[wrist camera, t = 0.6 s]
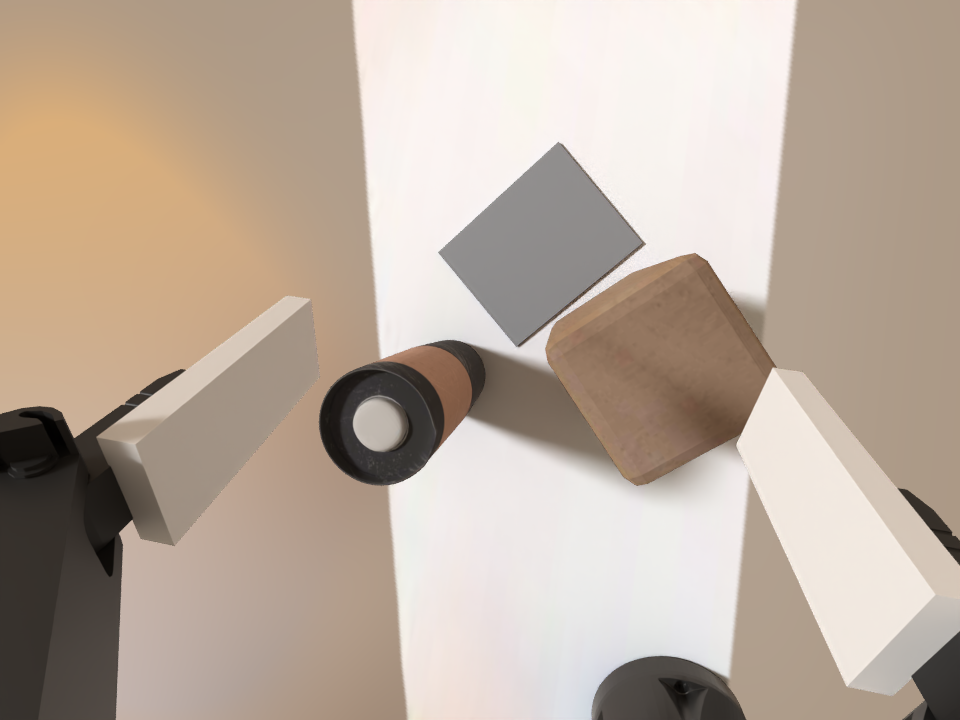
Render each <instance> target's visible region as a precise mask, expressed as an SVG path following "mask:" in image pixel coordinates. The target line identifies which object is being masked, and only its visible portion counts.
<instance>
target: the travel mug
mask: <svg viewBox="0 0 960 720" xmlns="http://www.w3.org/2000/svg"><path fill="white" fill-rule="evenodd" d="M484 382H485V369H484V365H483V362H482V360H481V358H480V357H479V355H478V354H477V352H476V351H475V350H474V349H473V348H471V347H470V346H468V345H467V344H465V343H463V342H460V341H455V340H444V341H439V342H434V343H430V344H426V345H422V346H418V347H414V348H411V349H408V350H405V351H403V352H400V353H397V354H395V355H392V356H389V357H387V358H384V359H381V360H379V361H376V362H373V363H371V364H369V365H365V366H363V367H360V368H357V369H355V370H353V371H351V372H349V373H347V374H345V375H344V376H342V377H341V378H340V379H338V380H337V381H336V382H335V383H334V384H333V385H332V386H331V388H330V389H329V391H328V392H327V394H326V396H325V398H324V400H323V403H322V406H321V410H320V415H319V429H320V435H321V439H322V442H323V445H324V447H325V449H326V452H327V453H328V455H329V457H330V458H331V459H332V461H333V462H334V463H335V464H336V465H337V466H338V468H339V469H341V470H342V471H343V472H344V473H345V474H347V475H349V476H350V477H352V478H353V479H356V480H358V481H360V482H363V483H366V484H371V485H391V484H396V483H399V482H402V481H404V480H406V479H408V478H410V477H411V476H413V475H414V474H416V473H417V472H418V471H420V470H421V469H422V468H423V467H424V466H425V464H426V463H427V462H428V460H429V459H430V458H431V456H432V455H433V454H434V453H435V452H436V451H437V449H438V448H439V447H440V446H441V445H442V444H443V442H444V441H445V440H446V439H447V438H448V437H449V435H450V434H451V433H452V432H453V431H454V430H455V428H456V427H457V426H458V425H459V424H460V423H461V421H462V420H463V419H464V418H465V416H466V415H467V413H468V412H469V410H470V409H471V407H472V406H473V404H474V403H475V401H476V400H477V398H478V396H479V395H480V393H481V391H482V389H483V386H484Z"/></svg>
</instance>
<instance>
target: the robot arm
mask: <svg viewBox="0 0 960 720" xmlns="http://www.w3.org/2000/svg"><path fill="white" fill-rule="evenodd" d="M319 377H320V374H319V365H318V356H317V348H316V339H315V330H314V321H313V312H312V304H311V299H307V298H299V297H293V296H286V297H284V298H283V299H281V300H280V301H279V302H277V303H276V304H275V305H273V306H272V307H271V308H269V309H268V310H267V311H265V312H264V313H263V314H261V315H260V316H259V317H257V318H256V319H255V320H253V321H252V322H250V323H249V324H248V325H246V326H245V327H244V328H242V329H241V330H240V331H238V332H237V333H236V334H234V335H233V336H232V337H230V338H229V339H228V340H226V341H225V342H224V343H222V344H221V345H220V346H218V347H217V348H215V349H214V350H213V351H212V352H210V353H209V354H207V355H206V356H205V357H203V358H202V359H201V360H199V361H198V362H197V363H195V364H194V365H193V366H191V367H190V368H189V369H187V370H183V369H180V370H178V371H175V372H173V373H171V374H168V375H166V376H164V377H161V378H159V379H157V380H156V381H154V382H153V383H152V384H150V385H149V386H147V387H146V388H144V389H143V390H142V391H141V392H140V394H136V395H135V396H133V397H132V398H130V399H129V400H128V401H126V403H125V405H121V406H119V407H118V408H117V409H115V410H114V411H112V412H111V413H109V414H108V415H107V416H105V417H104V418H103V419H101V420H100V421H98V422H97V423H95V424H94V425H92V426H91V427H90V428H88V429H87V430H85V431H84V432H83V433H81V434H80V435H78V436H77V437H76V438H73V436H72V434H71V431H70V430H69V427H68V425H67V423H66V421H65V419H64V417H63V414H62V412H60V411H58V410H56V409H54V408H51V407H41V406H39V407H29V408H21V409H17V410H14V411H10V412H6V413H2V414H0V720H116V698H117V673H118V651H119V625H120V600H121V577H122V552H123V544H122V541H121V537H120V535H119V532H120V531H121V530H122V529H123V528H124V527H125V526H126V525H127V524H128V523H129V522H130V521H131V520H133V522H134V524H135V527H136V529H137V531H138V533H139V536H140V538H141V539H144V540H149V541H154V542H159V543H164V544H168V545H173V546H175V545H176V544H177V542H178V541H179V540H180V539H181V538H182V537H183V535H184V534H185V533H186V532H187V531H188V530H189V528H190V527H191V526H192V525H193V524H194V523H195V521H196V520H197V519H198V518H199V517H200V516H201V514H202V513H203V512H204V511H205V510H206V509H207V507H208V506H209V505H210V504H211V503H212V502H213V500H214V499H215V498H216V497H217V496H218V495H219V493H220V492H221V491H222V490H223V489H224V488H225V486H226V485H227V484H228V483H229V482H230V480H231V479H232V478H233V477H234V476H235V475H236V474H237V473H238V471H239V470H240V469H241V468H242V467H243V465H244V464H245V463H246V462H247V461H248V460H249V458H250V457H251V456H252V455H253V454H254V453H255V452H256V450H257V449H258V448H259V447H260V446H261V444H262V443H263V442H264V441H265V440H266V439H267V438H268V436H269V435H270V434H271V433H272V432H273V431H274V429H275V428H276V427H277V426H278V425H279V424H280V422H281V421H282V420H283V419H284V418H285V417H286V415H287V414H288V413H289V412H290V411H291V409H293V407H294V406H295V405H296V404H297V402H299V400H300V399H301V398H302V397H303V396H304V395H305V393H306V392H307V391H308V390H309V388H310V387H311V386H312V385H313V384H314V383H315V382H316V381H317V379H318V378H319ZM736 446H737V449H738V451H739V453H740V455H741V457H742V459H743V462H744V464H745V466H746V468H747V470H748V473H749V475H750V477H751V479H752V481H753V483H754V486H755V487H756V490H757V492H758V494H759V496H760V499H761V501H762V503H763V505H764V507H765V509H766V512H767V514H768V516H769V518H770V520H771V523H772V525H773V527H774V529H775V531H776V534H777V536H778V538H779V540H780V542H781V544H782V546H783V549H784V551H785V553H786V555H787V557H788V559H789V562H790V564H791V566H792V568H793V570H794V573H795V575H796V577H797V579H798V581H799V583H800V586H801V588H802V590H803V592H804V594H805V597H806V599H807V601H808V603H809V605H810V608H811V610H812V612H813V614H814V616H815V618H816V621H817V623H818V625H819V627H820V629H821V631H822V634H823V636H824V638H825V640H826V642H827V645H828V647H829V649H830V651H831V653H832V655H833V657H834V660H835V662H836V664H837V666H838V669H839V671H840V673H841V675H842V677H843V679H844V682H845V684H846V686H847V687H852V688H856V689H861V690H866V691H870V692H876V693H880V694H885V695H890V696H893V695H894V694H895V693H896V692H898V691H899V690H900V689H901V688H902V687H903V686H904V685H905V684H906V683H907V682H908V681H909V680H911V679H912V678H913V680H914V682H915V684H916V685H917V687H918V689H919V691H920V692H921V694H922V696H923V698H924V699H925V701H924V702H923V703H921V704H920V705H919V706H918V707H917V708H915V709H914V710H913V711H912V712H911V713H910V714H908V715H907V716H906V717H905V718H904V719H903V720H960V541H959V540H958V538H957V537H956V536H952V531H951V530H950V529H949V528H948V527H947V525H946V524H945V523H944V522H943V521H942V519H941V518H940V517H939V516H938V515H937V514H936V512H935V511H934V510H933V509H931V508H930V507H929V506H927V505H926V504H925V503H924V502H922V501H921V500H920V499H918V498H917V497H916V496H915V495H913V494H912V493H911V492H909V491H908V490H905V489H899V488H896V486H895V485H894V484H893V483H892V481H891V480H890V479H889V478H888V477H887V475H886V474H885V473H884V472H883V470H882V469H881V468H880V467H879V465H878V464H877V463H876V462H875V460H874V459H873V458H872V457H871V456H870V454H869V453H868V452H867V451H866V450H865V448H864V447H863V446H862V445H861V443H860V442H859V441H858V439H857V438H856V437H855V436H854V434H853V433H852V432H851V431H850V430H849V428H848V427H847V426H846V425H845V424H844V422H843V421H842V420H841V418H840V417H839V416H838V415H837V414H836V412H835V411H834V410H833V409H832V407H831V406H830V405H829V404H828V403H827V401H826V400H825V399H824V397H823V396H822V395H821V394H820V392H819V391H818V390H817V389H816V388H815V386H814V385H813V384H812V383H811V382H810V380H809V379H808V378H807V376H806V375H805V374H804V373H803V372H800V371H794V370H787V369H780V368H772V370H771V372H770V375H769V377H768V379H767V381H766V383H765V385H764V387H763V389H762V391H761V394H760V396H759V398H758V400H757V402H756V404H755V406H754V408H753V410H752V413H751V415H750V417H749V419H748V421H747V423H746V425H745V427H744V429H743V432H742V434H741V436H740V438H739V440H738V442H737V444H736ZM592 720H746V719H745V716H744V714H743V711H742V709H741V707H740V704H739V702H738V701H737V699H736V697H735V696H734V694H733V693H732V691H731V690H730V689H729V688H728V687H727V685H726V684H725V683H724V682H723V681H722V680H720V679H719V678H718V677H717V676H716V675H714V674H713V673H711V672H710V671H708V670H707V669H705V668H703V667H701V666H699V665H697V664H694V663H692V662H689V661H686V660H682V659H678V658H672V657H647V658H641V659H637V660H634V661H631V662H629V663H626V664H624V665H622V666H620V667H619V668H617V669H616V670H614V671H613V672H612V673H611V674H609V675H608V676H607V677H606V679H605V680H604V681H603V682H602V683H601V685H600V687H599V688H598V690H597V692H596V694H595V697H594V700H593V705H592Z"/></svg>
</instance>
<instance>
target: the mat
mask: <svg viewBox="0 0 960 720" xmlns="http://www.w3.org/2000/svg"><path fill="white" fill-rule="evenodd" d="M641 244H642V241H641V240H640V239H639V238H638V237H637V235H636V234H635V233H634V232H633V231H632V229H631V228H630V227H629V226H628V225H627V223H626V222H625V221H624V220H623V219H622V217H621V216H620V215H619V214H618V213H617V211H616V210H615V209H614V208H613V207H612V205H611V204H610V203H609V202H608V201H607V199H606V198H605V197H604V196H603V195H602V193H601V192H600V191H599V190H598V189H597V187H596V186H595V185H594V184H593V183H592V181H591V180H590V179H589V178H588V177H587V175H586V174H585V173H584V172H583V171H582V169H581V168H580V167H579V166H578V165H577V163H576V162H575V161H574V160H573V159H572V157H571V156H570V155H569V154H568V153H567V151H566V150H565V149H564V148H563V147H562V145H561V144H560V143H559V142H558V143H557V144H556V145H555V146H554V147H552V148H551V149H550V150H549V151H548V152H547V153H546V154H545V155H544V156H543V157H542V158H540V159H539V160H538V161H537V162H536V163H535V164H534V165H533V166H532V167H531V168H530V169H528V170H527V171H526V172H525V173H524V174H523V175H522V176H521V177H520V178H519V179H518V180H517V181H515V182H514V183H513V184H512V185H511V186H510V187H509V188H508V189H507V190H506V191H505V192H503V193H502V194H501V195H500V196H499V197H498V198H497V199H496V200H495V201H494V202H493V203H491V204H490V205H489V206H488V207H487V208H486V209H485V210H484V211H483V212H482V213H481V214H480V215H478V216H477V217H476V218H475V219H474V220H473V221H472V222H471V223H470V224H469V225H468V226H466V227H465V228H464V229H463V230H462V231H461V232H460V233H459V234H458V235H457V236H456V237H454V238H453V239H452V240H451V241H450V242H449V243H448V244H447V245H446V246H445V247H444V248H443V249H441V250H440V251H439V252H438V253H439V254H440V255H441V256H442V258H443V259H444V260H445V261H446V262H447V264H448V265H449V266H450V267H451V268H452V270H453V271H454V272H455V273H456V274H457V276H458V277H459V278H460V279H461V280H462V282H463V283H464V284H465V285H466V287H467V288H468V289H469V290H470V291H471V293H472V294H473V295H474V296H475V297H476V299H477V300H478V301H479V302H480V303H481V305H482V306H483V307H484V308H485V309H486V311H487V312H488V313H489V314H490V315H491V317H492V318H493V319H494V320H495V322H496V323H497V324H498V325H499V326H500V328H501V329H502V330H503V331H504V332H505V334H506V335H507V336H508V337H509V338H510V340H511V341H512V342H513V343H514V344H515V346H518V345H519V344H520V343H521V342H522V341H524V340H525V339H526V338H527V337H529V336H530V335H531V334H532V333H533V332H535V331H536V330H537V329H538V328H540V327H541V326H542V325H543V324H544V323H546V322H547V321H548V320H549V319H550V318H552V317H553V316H554V315H555V314H557V313H558V312H559V311H560V310H561V309H563V308H564V307H565V306H566V305H568V304H569V303H570V302H571V301H572V300H574V299H575V298H576V297H577V296H579V295H580V294H581V293H582V292H583V291H585V290H586V289H587V288H588V287H590V286H591V285H592V284H593V283H594V282H596V281H597V280H598V279H599V278H600V277H602V276H603V275H604V274H605V273H607V272H608V271H609V270H610V269H611V268H613V267H614V266H615V265H616V264H618V263H619V262H620V261H621V260H622V259H624V258H625V257H626V256H627V255H629V254H630V253H631V252H632V251H633V250H635V249H636V248H637V247H638V246H640V245H641Z"/></svg>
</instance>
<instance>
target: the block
mask: <svg viewBox="0 0 960 720" xmlns="http://www.w3.org/2000/svg"><path fill="white" fill-rule="evenodd" d="M545 350H546V355H547V361H548V363H549V365H550V366H551V368H552V369H553V371H554V372H555V374H556V375H557V377H558V378H559V380H560V381H561V383H562V384H563V386H564V387H565V389H566V390H567V392H568V393H569V395H570V396H571V398H572V399H573V401H574V402H575V404H576V405H577V407H578V409H579V410H580V412H581V413H582V415H583V416H584V418H585V419H586V421H587V422H588V424H589V425H590V427H591V428H592V430H593V431H594V433H595V434H596V436H597V437H598V439H599V440H600V442H601V443H602V445H603V446H604V448H605V449H606V451H607V453H608V454H609V456H610V457H611V459H612V460H613V462H614V463H615V465H616V466H617V468H618V469H619V471H620V472H621V474H622V475H623V477H624V478H626V479H627V480H629V481H630V482H632V483H633V484H634V485H637V486H638V485H643V484H648V483H650V482H652V481H654V480H656V479H657V478H659V477H661V476H663V475H665V474H667V473H669V472H670V471H672V470H674V469H676V468H678V467H680V466H682V465H683V464H685V463H687V462H689V461H691V460H693V459H695V458H696V457H698V456H700V455H702V454H704V453H706V452H708V451H710V450H711V449H713V448H715V447H717V446H719V445H721V444H723V443H724V442H726V441H728V440H730V439H732V438H734V437H736V436H737V435H739V434H741V433H742V432H743V429H744V427H745V425H746V423H747V421H748V419H749V417H750V415H751V413H752V410H753V408H754V406H755V404H756V402H757V400H758V398H759V396H760V394H761V391H762V389H763V387H764V385H765V383H766V381H767V379H768V377H769V375H770V372H771V370H772V368H777V367H776V366H775V364H774V363H773V361H772V360H771V358H770V357H769V355H768V354H767V352H766V351H765V349H764V347H763V346H762V344H761V343H760V341H759V340H758V338H757V337H756V335H755V334H754V332H753V331H752V329H751V327H750V326H749V324H748V323H747V321H746V320H745V318H744V317H743V315H742V314H741V312H740V311H739V309H738V307H737V306H736V304H735V303H734V301H733V300H732V298H731V297H730V295H729V294H728V292H727V291H726V289H725V287H724V286H723V284H722V283H721V281H720V280H719V278H718V277H717V275H716V274H715V272H714V271H713V269H712V268H711V266H710V264H709V263H708V261H706V260H705V259H703V258H702V257H700V256H699V255H697V254H696V253H693V254H688V255H684V256H679V257H676V258H673V259H671V260H668V261H665V262H662V263H659V264H656V265H653V266H650V267H647V268H645V269H642V270H639V271H636V272H633V273H631V274H629V275H628V276H626V277H625V278H623V279H622V280H620V281H619V282H617V283H615V284H614V285H612V286H611V287H609V288H608V289H606V290H605V291H603V292H602V293H600V294H599V295H597V296H595V297H594V298H592V299H591V300H589V301H588V302H586V303H585V304H583V305H582V306H580V307H579V308H577V309H575V310H574V311H572V312H571V313H569V314H568V315H566V316H565V317H563V318H562V319H560V320H559V321H557V322H556V323H555V325H554V326H553V328H552V330H551V333H550V336H549V339H548V342H547V345H546V348H545Z"/></svg>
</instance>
